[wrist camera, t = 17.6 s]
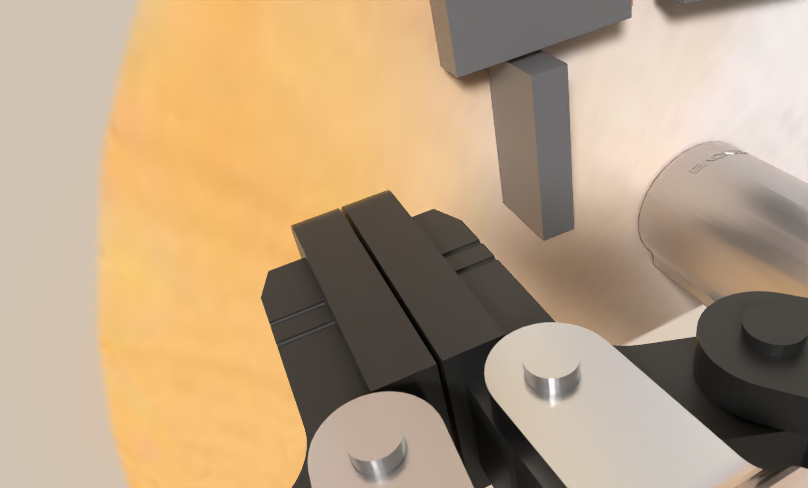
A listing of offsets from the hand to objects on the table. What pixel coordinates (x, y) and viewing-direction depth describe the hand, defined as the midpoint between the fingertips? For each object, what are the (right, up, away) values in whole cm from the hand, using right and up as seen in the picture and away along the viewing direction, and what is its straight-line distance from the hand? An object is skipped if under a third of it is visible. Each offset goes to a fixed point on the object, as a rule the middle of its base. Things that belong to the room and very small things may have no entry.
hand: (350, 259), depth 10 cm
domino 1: (+3, +11, +22) cm, 24 cm away
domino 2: (+7, +10, +24) cm, 27 cm away
